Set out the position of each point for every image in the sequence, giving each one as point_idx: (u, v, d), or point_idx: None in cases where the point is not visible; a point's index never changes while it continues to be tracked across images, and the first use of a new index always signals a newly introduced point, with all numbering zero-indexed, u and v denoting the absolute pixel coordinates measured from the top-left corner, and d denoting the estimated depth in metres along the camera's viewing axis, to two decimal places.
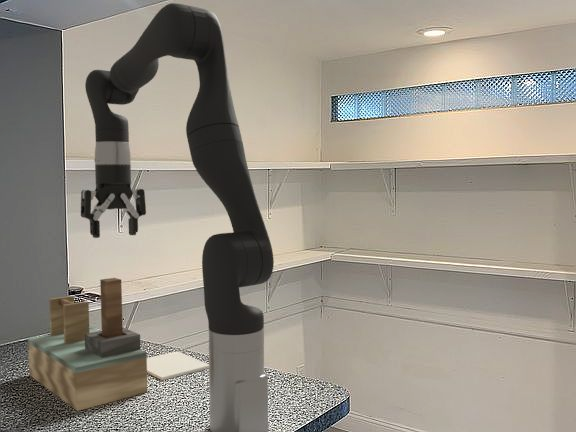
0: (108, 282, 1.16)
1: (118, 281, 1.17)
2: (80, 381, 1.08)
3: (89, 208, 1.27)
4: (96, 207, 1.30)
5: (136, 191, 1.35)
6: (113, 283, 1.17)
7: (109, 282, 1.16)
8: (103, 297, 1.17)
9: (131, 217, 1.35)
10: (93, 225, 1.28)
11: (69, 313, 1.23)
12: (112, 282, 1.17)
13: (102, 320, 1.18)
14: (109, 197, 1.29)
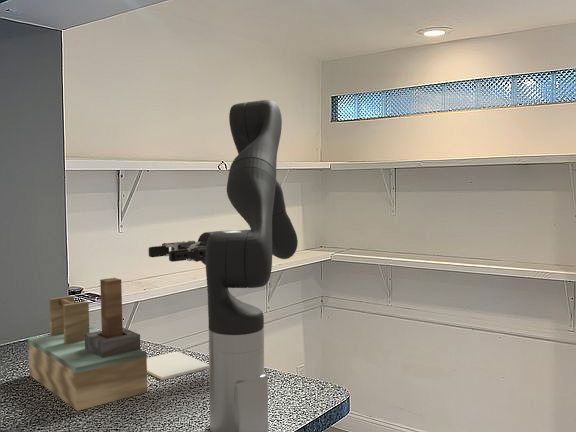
0: (108, 282, 1.16)
1: (118, 281, 1.17)
2: (80, 381, 1.08)
3: (171, 243, 1.34)
4: None
5: None
6: (113, 283, 1.17)
7: (109, 282, 1.16)
8: (103, 297, 1.17)
9: None
10: None
11: (69, 313, 1.23)
12: (112, 282, 1.17)
13: (102, 320, 1.18)
14: None
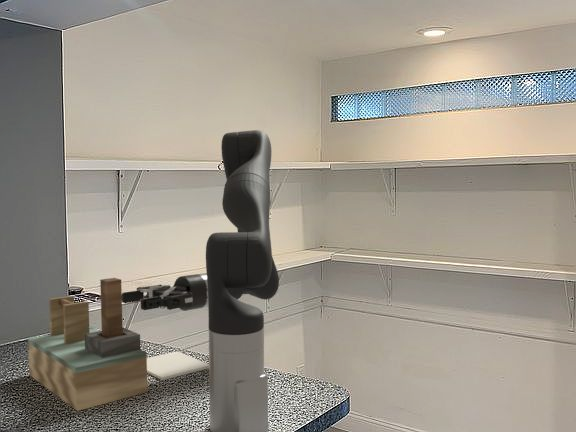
0: (108, 282, 1.16)
1: (118, 281, 1.17)
2: (80, 381, 1.08)
3: (146, 287, 1.30)
4: None
5: None
6: (113, 283, 1.17)
7: (109, 282, 1.16)
8: (103, 297, 1.17)
9: None
10: None
11: (69, 313, 1.23)
12: (112, 282, 1.17)
13: (102, 320, 1.18)
14: (165, 285, 1.28)
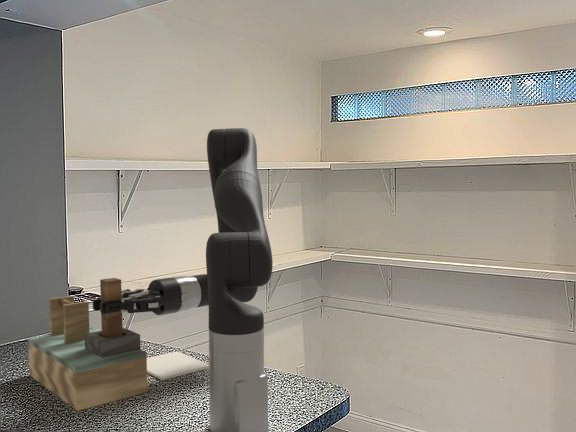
0: (108, 282, 1.16)
1: (118, 281, 1.17)
2: (80, 381, 1.08)
3: None
4: None
5: None
6: (113, 283, 1.17)
7: (109, 282, 1.16)
8: (103, 297, 1.17)
9: None
10: None
11: (69, 313, 1.23)
12: (112, 282, 1.17)
13: (102, 320, 1.18)
14: (137, 289, 1.24)
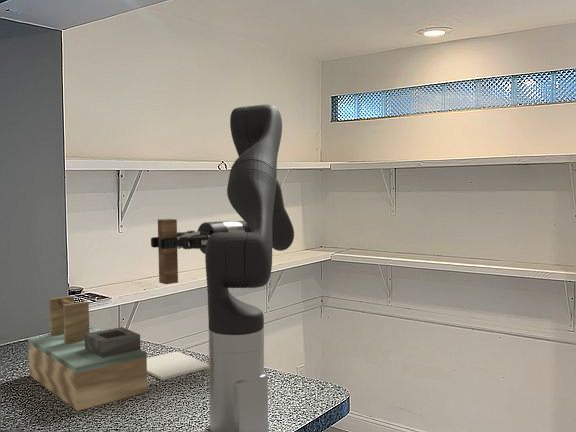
0: (165, 221, 1.29)
1: (174, 220, 1.30)
2: (80, 381, 1.08)
3: None
4: None
5: None
6: (170, 222, 1.30)
7: (166, 221, 1.29)
8: (160, 235, 1.30)
9: None
10: None
11: (69, 313, 1.23)
12: (169, 221, 1.29)
13: (159, 256, 1.31)
14: None
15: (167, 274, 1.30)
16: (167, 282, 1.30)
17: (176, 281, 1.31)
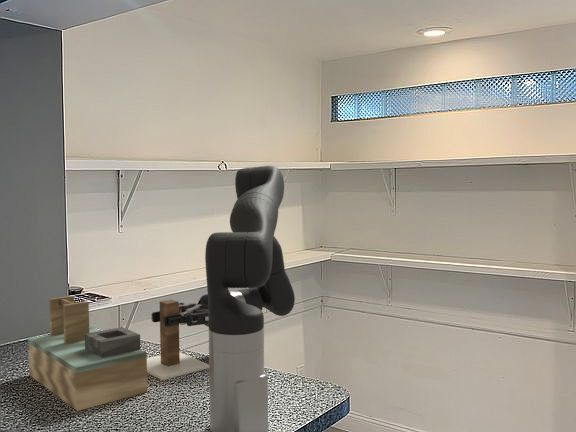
0: (168, 304, 1.30)
1: (176, 303, 1.32)
2: (80, 381, 1.08)
3: None
4: None
5: None
6: (172, 304, 1.31)
7: (168, 304, 1.30)
8: (162, 317, 1.31)
9: None
10: None
11: (69, 313, 1.23)
12: (171, 304, 1.31)
13: (161, 338, 1.32)
14: (190, 303, 1.38)
15: (169, 356, 1.31)
16: (169, 364, 1.31)
17: (178, 362, 1.33)
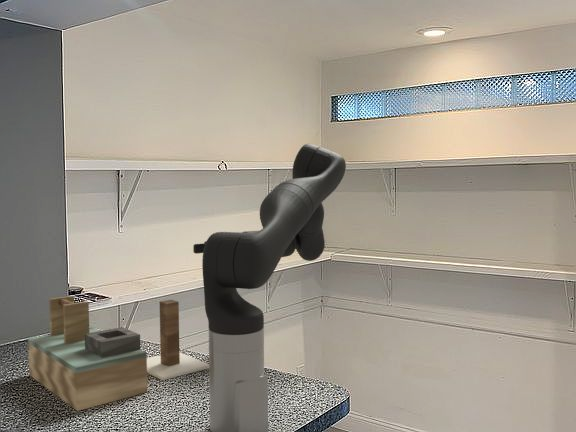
0: (168, 304, 1.30)
1: (176, 303, 1.32)
2: (80, 381, 1.08)
3: None
4: None
5: None
6: (172, 304, 1.31)
7: (168, 304, 1.30)
8: (162, 317, 1.31)
9: None
10: None
11: (69, 313, 1.23)
12: (171, 304, 1.31)
13: (161, 338, 1.32)
14: None
15: (169, 356, 1.31)
16: (169, 364, 1.31)
17: (178, 362, 1.33)
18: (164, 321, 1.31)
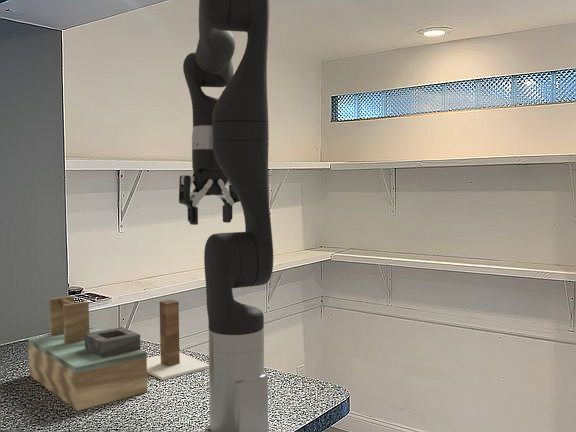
0: (168, 304, 1.30)
1: (176, 303, 1.32)
2: (80, 381, 1.08)
3: (188, 194, 1.23)
4: (193, 193, 1.26)
5: None
6: (172, 304, 1.31)
7: (168, 304, 1.30)
8: (162, 317, 1.31)
9: (226, 204, 1.31)
10: (191, 211, 1.25)
11: (69, 313, 1.23)
12: (171, 304, 1.31)
13: (161, 338, 1.32)
14: (207, 183, 1.25)
15: (169, 356, 1.31)
16: (169, 364, 1.31)
17: (178, 362, 1.33)
18: (164, 321, 1.31)
